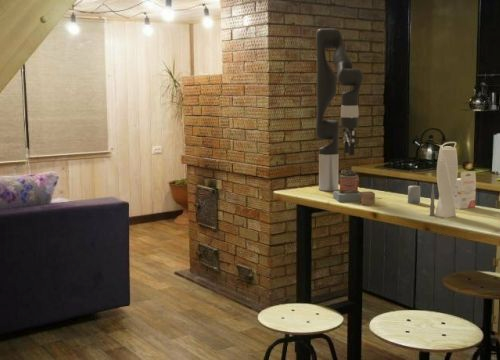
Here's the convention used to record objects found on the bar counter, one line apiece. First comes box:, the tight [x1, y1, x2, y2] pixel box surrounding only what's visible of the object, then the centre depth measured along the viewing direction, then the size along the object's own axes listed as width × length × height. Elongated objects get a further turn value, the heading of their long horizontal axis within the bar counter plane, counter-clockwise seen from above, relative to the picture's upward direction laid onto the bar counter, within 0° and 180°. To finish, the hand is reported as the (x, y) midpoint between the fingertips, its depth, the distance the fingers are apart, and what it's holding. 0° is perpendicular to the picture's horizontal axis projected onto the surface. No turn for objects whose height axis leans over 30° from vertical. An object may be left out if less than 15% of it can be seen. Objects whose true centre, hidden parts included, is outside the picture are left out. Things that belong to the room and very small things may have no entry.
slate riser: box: [332, 190, 361, 203], centre depth 267 cm, size 11×11×3 cm
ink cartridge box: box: [453, 170, 477, 210], centre depth 245 cm, size 9×5×15 cm, turn 117°
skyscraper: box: [428, 141, 459, 219], centre depth 228 cm, size 8×8×28 cm
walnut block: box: [359, 190, 376, 206], centre depth 255 cm, size 5×5×5 cm
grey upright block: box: [407, 185, 421, 205], centre depth 257 cm, size 5×5×7 cm
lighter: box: [338, 169, 359, 193], centre depth 265 cm, size 8×3×10 cm, turn 88°
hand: (349, 153), depth 264 cm, fingers open, 8 cm apart
